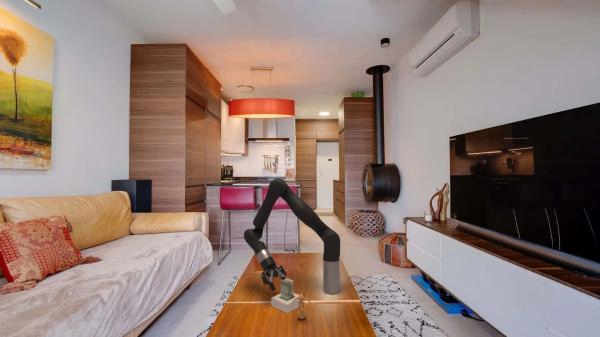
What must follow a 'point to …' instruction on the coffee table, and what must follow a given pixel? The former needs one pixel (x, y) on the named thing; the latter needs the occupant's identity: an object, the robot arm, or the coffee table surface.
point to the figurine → (301, 312)
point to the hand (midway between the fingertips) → (280, 287)
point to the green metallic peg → (286, 289)
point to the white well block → (285, 303)
